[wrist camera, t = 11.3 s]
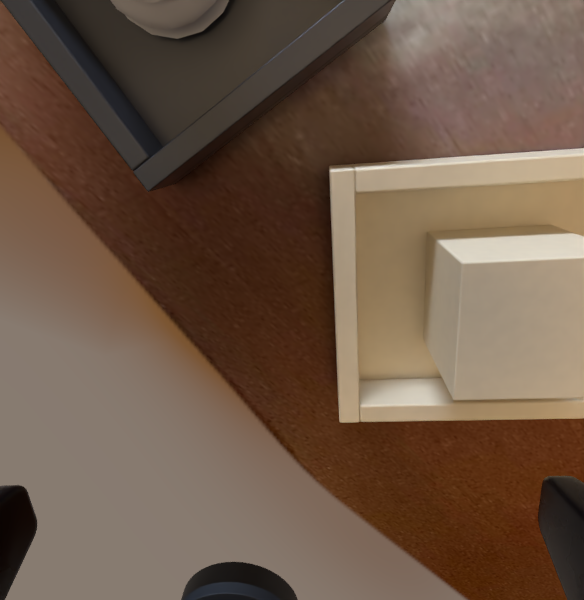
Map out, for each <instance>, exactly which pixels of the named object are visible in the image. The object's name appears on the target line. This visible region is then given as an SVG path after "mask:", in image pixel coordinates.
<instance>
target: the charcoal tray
mask: <svg viewBox="0 0 584 600" xmlns="http://www.w3.org/2000/svg"><path fill="white" fill-rule="evenodd" d="M1 1H2V3H3V4H4V5H5V7H6V8H7V9H8V10H9V12H10V13H11V14H12V16H13V17H14V18H15V19H16V21H17V22H18V23H19V25H20V26H21V27H22V29H23V30H24V31H25V32H26V34H27V35H28V36H29V38H30V39H31V40H32V41H33V43H34V44H35V45H36V47H37V48H38V49H39V51H40V52H41V53H42V54H43V56H44V57H45V58H46V60H47V61H48V62H49V63H50V65H51V66H52V67H53V69H54V70H55V71H56V73H57V74H58V75H59V76H60V78H61V79H62V80H63V82H64V83H65V84H66V85H67V87H68V88H69V89H70V91H71V92H72V93H73V95H74V96H75V97H76V98H77V100H78V101H79V102H80V104H81V105H82V106H83V107H84V109H85V110H86V111H87V113H88V114H89V115H90V117H91V118H92V119H93V120H94V122H95V123H96V124H97V126H98V127H99V128H100V130H101V131H102V132H103V133H104V135H105V136H106V137H107V139H108V140H109V141H110V142H111V144H112V145H113V146H114V148H115V149H116V150H117V152H118V153H119V154H120V155H121V157H122V158H123V159H124V161H125V162H126V163H127V164H128V166H129V167H130V168H131V170H133V171H134V172H133V173H134V174H135V176H136V177H137V178H138V179H139V181H140V182H141V183H142V185H143V186H144V187H145V188H146V190H147V191H148V192H149V191H153V190H156V189H160V188H163V187H166V186H169V185H172V184H176V183H177V182H178V181H179V180H181V179H182V178H183V177H185V176H186V175H187V174H188V173H190V172H191V171H192V170H194V169H195V168H196V167H197V166H199V165H200V164H201V163H203V162H204V161H205V160H206V159H208V158H209V157H210V156H212V155H213V154H214V153H215V152H217V151H218V150H219V149H221V148H222V147H223V146H224V145H226V144H227V143H228V142H230V141H231V140H232V139H233V138H235V137H236V136H237V135H238V134H240V133H241V132H242V131H244V130H245V129H246V128H247V127H249V126H250V125H251V124H253V123H254V122H255V121H256V120H258V119H259V118H260V117H262V116H263V115H264V114H265V113H267V112H268V111H269V110H271V109H272V108H273V107H274V106H276V105H277V104H278V103H280V102H281V101H282V100H283V99H285V98H286V97H287V96H289V95H290V94H291V93H292V92H294V91H295V90H296V89H297V88H299V87H300V86H301V85H303V84H304V83H305V82H306V81H308V80H309V79H310V78H312V77H313V76H314V75H315V74H317V73H318V72H319V71H321V70H322V69H323V68H324V67H326V66H327V65H328V64H330V63H331V62H332V61H333V60H335V59H336V58H337V57H339V56H340V55H341V54H342V53H344V52H345V51H346V50H348V49H349V48H350V47H351V46H353V45H354V44H355V43H357V42H358V41H359V40H360V39H362V38H363V37H364V36H365V35H367V34H368V33H369V32H371V31H372V30H373V29H374V28H376V27H377V26H378V25H380V24H381V23H382V22H383V21H385V19H386V18H387V16H388V14H389V12H390V10H391V8H392V6H393V4H394V2H395V0H229V1H228V3H227V6H226V8H225V10H224V12H223V13H222V14H221V15H220V16H219V17H218V18H217V19H216V20H215V21H213V22H212V23H211V24H210V25H209V26H208V27H207V28H206V29H205V30H204V31H202V32H199V33H195V34H192V35H189V36H185V37H182V38H179V39H176V38H170V37H164V36H158V35H152V34H150V33H149V32H147V31H146V30H144V29H143V28H141V27H140V26H138V25H136V24H135V23H133V22H132V21H130V20H129V19H128V18H127V17H126V16H125V14H123V13H122V12H120V11H119V10H117V9H116V7H115V6H114V5H113V3H112V2H111V0H1Z"/></svg>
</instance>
